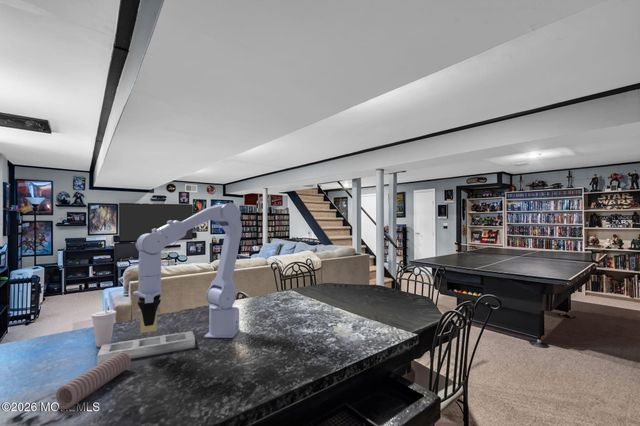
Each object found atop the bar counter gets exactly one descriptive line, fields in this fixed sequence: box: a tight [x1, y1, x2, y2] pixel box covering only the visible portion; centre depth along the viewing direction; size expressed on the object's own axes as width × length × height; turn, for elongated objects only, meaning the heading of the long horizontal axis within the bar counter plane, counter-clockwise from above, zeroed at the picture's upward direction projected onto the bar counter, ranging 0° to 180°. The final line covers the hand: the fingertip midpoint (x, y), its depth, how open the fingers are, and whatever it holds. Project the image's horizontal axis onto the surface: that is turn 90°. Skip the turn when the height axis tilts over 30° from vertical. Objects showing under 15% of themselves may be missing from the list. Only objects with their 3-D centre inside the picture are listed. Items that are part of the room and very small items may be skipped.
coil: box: [55, 352, 132, 410], centre depth 70 cm, size 5×5×18 cm
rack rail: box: [96, 330, 196, 366], centre depth 90 cm, size 24×8×2 cm, turn 118°
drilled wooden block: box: [136, 306, 161, 334], centre depth 87 cm, size 6×4×6 cm
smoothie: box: [90, 297, 117, 348], centre depth 95 cm, size 6×6×14 cm
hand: (149, 323), depth 87 cm, fingers closed on drilled wooden block, 4 cm apart
